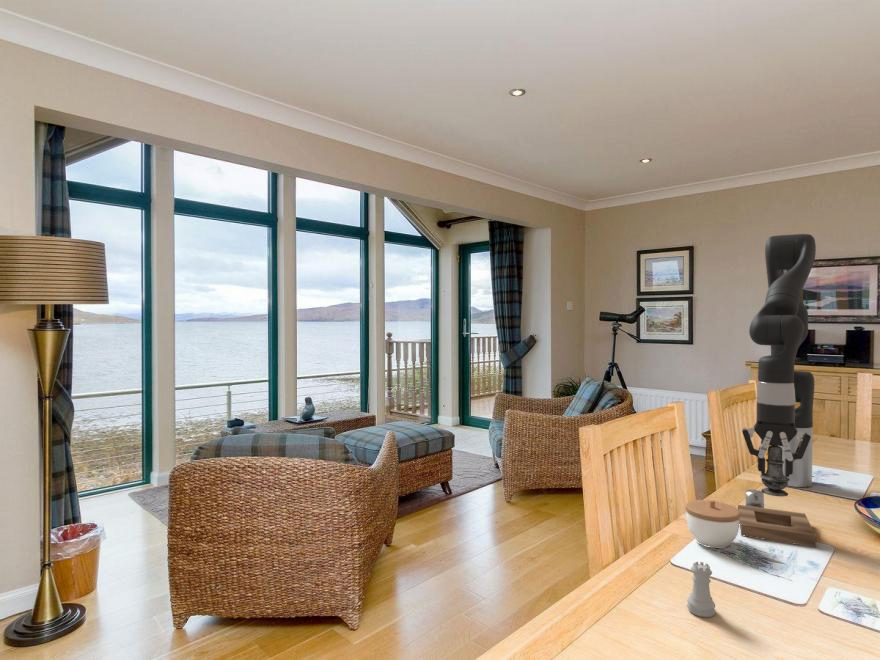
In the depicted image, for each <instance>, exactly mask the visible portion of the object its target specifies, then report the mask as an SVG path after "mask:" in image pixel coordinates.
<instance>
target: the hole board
mask: <svg viewBox="0 0 880 660" xmlns="http://www.w3.org/2000/svg"><path fill="white" fill-rule="evenodd" d="M737 509H738V510H739V511H740V518H739V524H740V525H739V531H740V530H741V531H740V536H741V535H745V536H744V537H748V536H751V537H750V538H754V537H758V538H757V539H761V538H764V539H763V540H767V539H768V541H773V540H774V542H781V543H786V542H787V544H793V543H795V545H799V544H801V545H800V546H806V545H807V547H812V546H815V547H814V548H816V545H817V544H816V543H817V540H816V539H817V536H816V534H815V530H814V529H813V527H812V525H811V523H810V521H809V519H808V517H807V515H806V513H803V512H796V511H788V510H782V509H781V510H779V509H772V508H766V507H764V508H759V507H752V506H746V505H744V504H743V505H742V504H737Z"/></svg>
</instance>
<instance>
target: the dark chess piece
mask: <svg viewBox="0 0 880 660" xmlns="http://www.w3.org/2000/svg"><path fill="white" fill-rule="evenodd" d="M765 462H766V464H767V466H766V467H767V469H766V471H765V474H761V473H760V475H759V476H760V478H761V482H762V485H764V486H765V488H762V489H761V490H760V491H762V492H763V493H764V494H766V495H768V496H773V497H783V498H784V497H787V496H789V493H788V492H787V491H786V490H784V489H786V488H788V487H787V486H788V481H790V479H789V478H788V477H785V476H784V475H783V463H784V461H782V448H781V447H780V446H778V445H768V448H767V459H766V458H765Z"/></svg>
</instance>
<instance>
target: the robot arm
mask: <svg viewBox="0 0 880 660" xmlns="http://www.w3.org/2000/svg"><path fill="white" fill-rule="evenodd" d="M816 246H817V245H816V239H815V237H814V236H813V235H812V234H810V233H798V234H796V233H794V234H780V235H773V236H770V237H768V239H767V240H766V242H765V246H764V258H765V267H766V269H765V270H766V277H767V287H768V290H767V292H766V296H765V300H764V304H763V306H762V307H761V308H760V310H759V311H758V312H757V313H756V314H755V316H754V317H753V319H752V321H751V322H750V325H749V328H748V329H749V331H748V333H749V336H750V339H751V340H752V342H753V343H755V344H756V345H760V346H770V354H769V355H765V356H762V357H761V356H760V358H759V359H758V367H757V371H758V373H757V375H758V376H757V379H758V380H757V381H758V382H757V387H756V422H755V424H754V426H753V427H748V428H747V427H743V428H742V429H741V433H742V435H743V439H744V441H745V445H746V447H747V450H748V452H749V454H750V455H752V456H755V457H757V470H758V472H760V475H761V474H765V473H766V458H765V455H766V452H767V451H768V447H769V446H771V445H778V446H780V447H781V448H782V461H784V463H783V475H784V476H785V477H788V478H789V479H790V481H788V485H787V486H788V487H795V488H808V487H807V486H810V487H811V485H812V486H813V447H814V446H813V443H814V441H813V440H814V437H813V436H814V435H813V434H814V432H813V428H814V423H813V422H814V415H813V414H814V411H813V410H814V409H813V408H814V398H815V397H814V396H815V395H814V394H815V377H814V374H813V373H812V372H810V371H805V370H795V363H796V358H797V357H796V356H797V353H798V350H799V348H800V346H801V345H802V343H804V342H805V340H806V338H807V336H808V334H809V313H808V309H807V308H806V306H805V304H804V303H803V302H802V300H801V296H802V293H803V289H804V287H805V285H806V282H807V280H808V277H809V276H810V273H811V271H812V268H813V266H814V263H815V259H816V252H817V251H816V250H817V249H816V248H817V247H816ZM782 270H783V271H785V270H786V271H787V270H788V271H787V272H784V274H783V271H782ZM796 403H799V406H797V407H796ZM754 433H756V434H757V435H758V437H759V438H760V443H759V446H758V449H757V448H754V445H753V442H752V438H753V437H754Z"/></svg>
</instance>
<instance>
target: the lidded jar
mask: <svg viewBox="0 0 880 660" xmlns="http://www.w3.org/2000/svg"><path fill="white" fill-rule="evenodd" d="M685 517H686V524H687V528H688V531H689V533H690V534H691V535H692V536H693V538H694V539H695V540H696V542H697V541H698V542H699V543H701V544H703V545H706V546H710V547H716V548H723V549H725V548H724V547H726V548H727V547H729V545H730V544H732V543H733V542H734V541H735V540H736V538H737V536H738V533H739V531H740V525H739V518H740V511H739V510H738V507H735V506H733V505H731V504H729V503H725V502H722V501H718V500H717V501H716V500H713V499H710V500H708V499H694V500H689V501H688V502H686V504H685ZM698 542H697V543H698ZM699 543H698V544H699ZM701 544H700V545H701ZM703 545H702V546H703Z"/></svg>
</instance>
